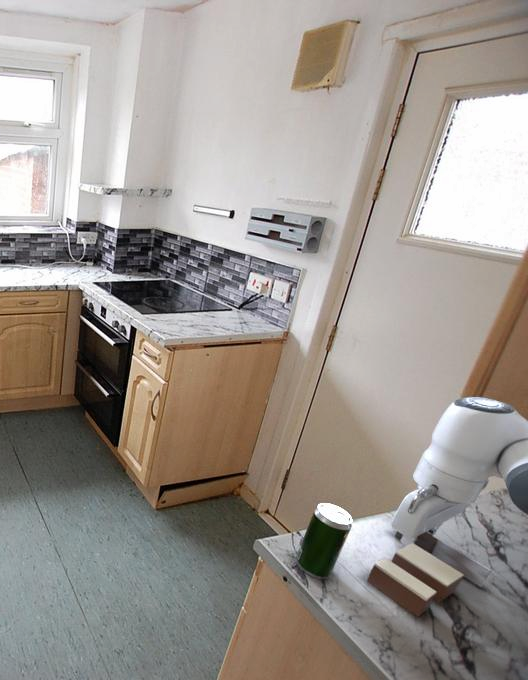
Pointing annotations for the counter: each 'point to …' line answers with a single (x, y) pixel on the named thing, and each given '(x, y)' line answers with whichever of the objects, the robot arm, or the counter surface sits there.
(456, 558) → the knife
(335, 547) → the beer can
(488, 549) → the counter surface
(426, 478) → the robot arm
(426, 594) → the cake slice
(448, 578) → the cake
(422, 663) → the counter surface
